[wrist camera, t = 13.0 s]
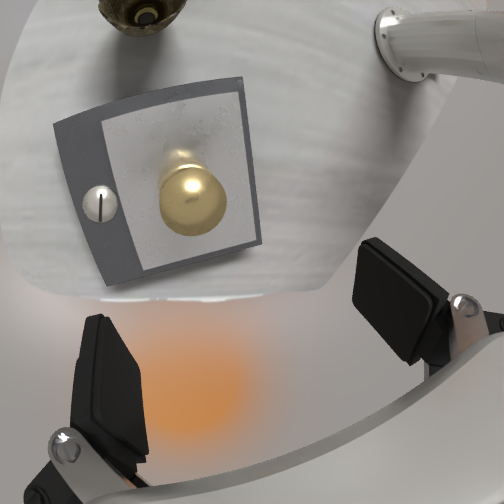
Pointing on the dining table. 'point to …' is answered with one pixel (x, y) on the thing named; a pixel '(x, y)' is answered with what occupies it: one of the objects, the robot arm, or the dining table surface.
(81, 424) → the robot arm
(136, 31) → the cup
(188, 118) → the scale pan
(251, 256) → the dining table surface
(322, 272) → the dining table surface
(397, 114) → the dining table surface
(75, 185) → the scale
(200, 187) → the brass weight
